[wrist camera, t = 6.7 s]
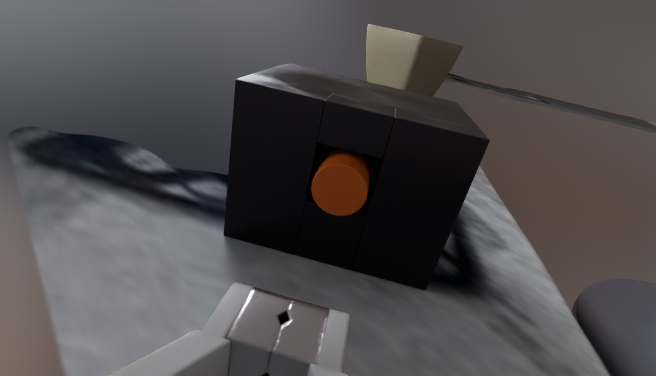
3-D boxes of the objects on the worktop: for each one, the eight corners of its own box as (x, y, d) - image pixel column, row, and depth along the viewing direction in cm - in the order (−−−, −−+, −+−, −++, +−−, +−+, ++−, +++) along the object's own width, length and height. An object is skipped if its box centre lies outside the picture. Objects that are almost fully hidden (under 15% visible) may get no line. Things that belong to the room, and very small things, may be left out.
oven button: (363, 199, 25) (376, 155, 24) (360, 222, 22) (374, 172, 21) (316, 187, 26) (325, 142, 24) (306, 208, 23) (316, 158, 21)
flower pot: (393, 89, 111) (409, 33, 103) (443, 107, 99) (465, 45, 91) (351, 87, 98) (366, 23, 91) (402, 108, 86) (424, 36, 79)
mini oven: (425, 216, 36) (467, 104, 31) (439, 294, 26) (507, 144, 20) (271, 176, 38) (287, 62, 32) (223, 235, 27) (235, 78, 22)
